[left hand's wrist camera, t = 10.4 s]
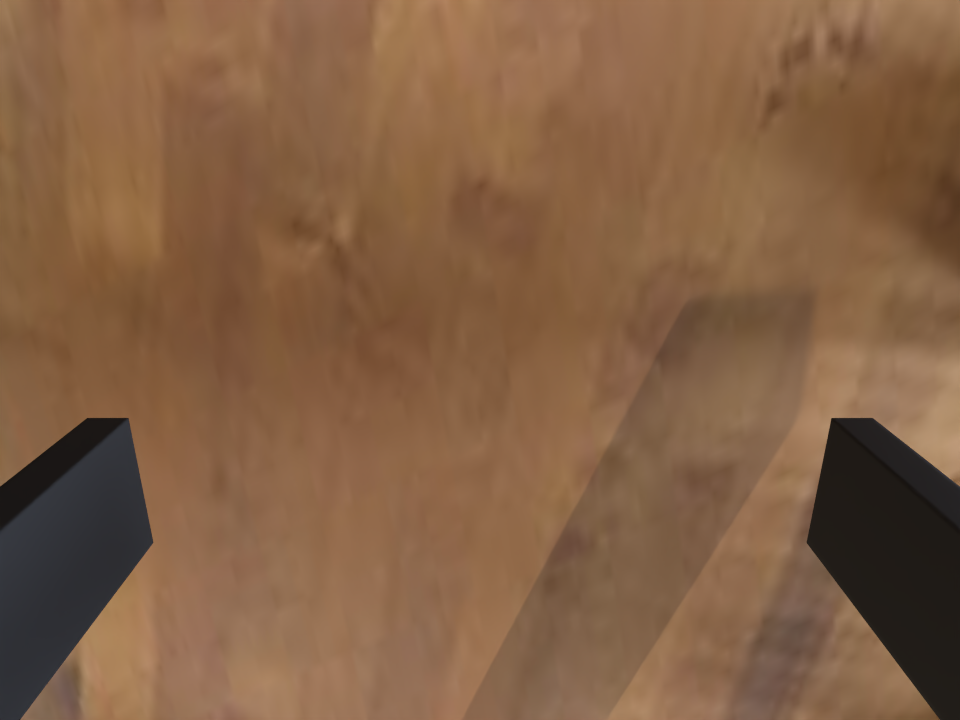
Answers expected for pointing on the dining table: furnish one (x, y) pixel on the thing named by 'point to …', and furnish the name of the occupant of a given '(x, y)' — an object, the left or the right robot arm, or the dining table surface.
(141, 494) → the left robot arm
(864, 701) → the dining table surface
